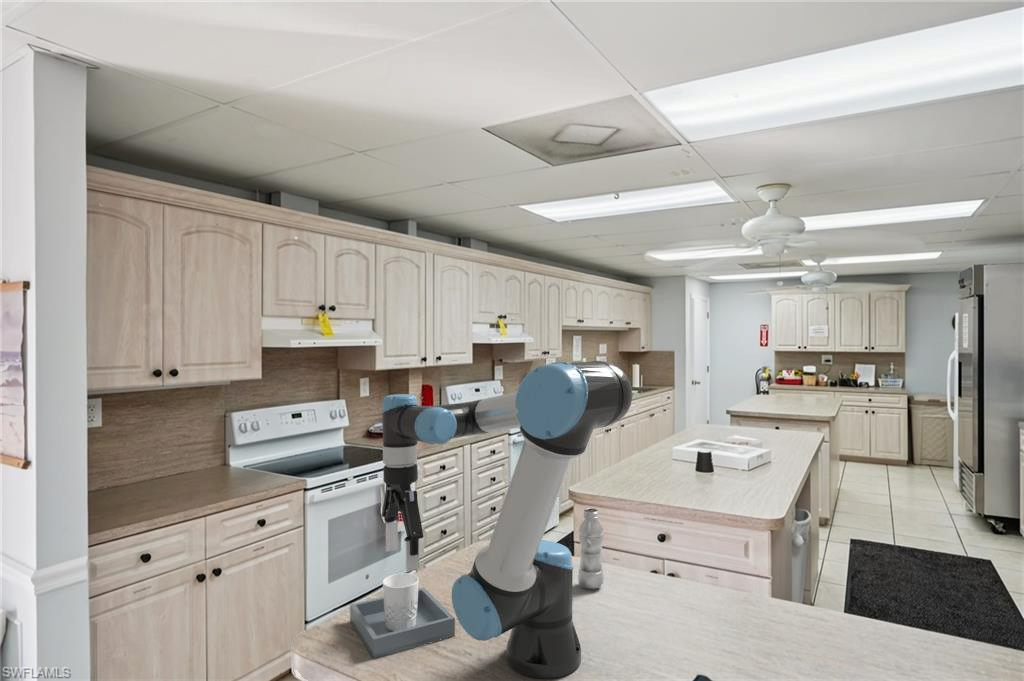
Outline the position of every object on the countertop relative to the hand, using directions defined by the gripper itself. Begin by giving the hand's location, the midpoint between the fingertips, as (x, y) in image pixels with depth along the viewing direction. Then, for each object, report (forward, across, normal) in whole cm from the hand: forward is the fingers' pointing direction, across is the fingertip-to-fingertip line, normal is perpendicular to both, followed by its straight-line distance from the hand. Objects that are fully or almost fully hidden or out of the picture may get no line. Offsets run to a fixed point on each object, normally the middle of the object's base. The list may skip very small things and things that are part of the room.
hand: (401, 559), depth 131 cm
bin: (+16, +1, 0) cm, 16 cm away
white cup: (+15, 0, 0) cm, 15 cm away
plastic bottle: (+16, -3, -50) cm, 52 cm away
